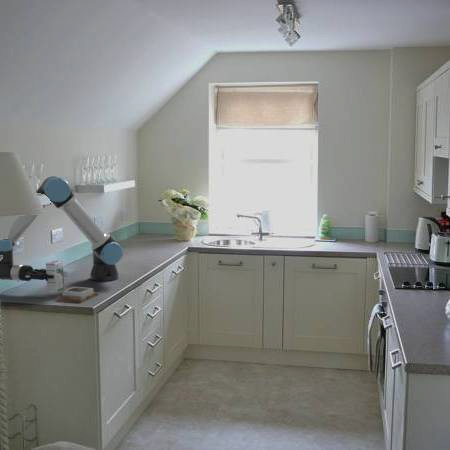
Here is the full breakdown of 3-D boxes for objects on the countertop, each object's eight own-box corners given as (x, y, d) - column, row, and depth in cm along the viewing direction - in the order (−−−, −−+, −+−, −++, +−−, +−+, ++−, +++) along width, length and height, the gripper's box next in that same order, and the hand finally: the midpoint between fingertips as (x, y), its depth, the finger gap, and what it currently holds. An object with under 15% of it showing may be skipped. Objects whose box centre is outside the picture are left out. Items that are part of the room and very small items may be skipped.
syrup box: (57, 293, 300) (55, 263, 298) (46, 292, 302) (45, 262, 301) (64, 290, 305) (63, 260, 304) (54, 289, 308) (52, 260, 306)
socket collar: (74, 291, 307) (73, 286, 307) (93, 293, 304) (93, 288, 303) (62, 296, 297) (62, 291, 297) (81, 298, 294) (81, 292, 294)
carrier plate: (75, 293, 310) (75, 290, 310) (97, 295, 306) (97, 292, 306) (57, 300, 295) (57, 297, 295) (80, 302, 291) (80, 299, 291)
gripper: (34, 276, 318) (75, 279, 311) (10, 284, 300) (53, 287, 293) (33, 261, 317) (74, 264, 310) (10, 269, 299) (52, 271, 292)
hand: (64, 275), depth 301 cm, fingers closed on syrup box, 6 cm apart
